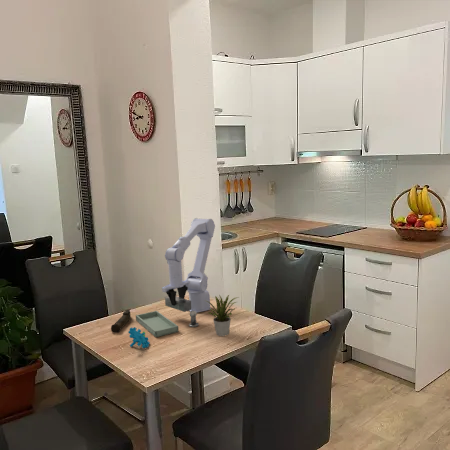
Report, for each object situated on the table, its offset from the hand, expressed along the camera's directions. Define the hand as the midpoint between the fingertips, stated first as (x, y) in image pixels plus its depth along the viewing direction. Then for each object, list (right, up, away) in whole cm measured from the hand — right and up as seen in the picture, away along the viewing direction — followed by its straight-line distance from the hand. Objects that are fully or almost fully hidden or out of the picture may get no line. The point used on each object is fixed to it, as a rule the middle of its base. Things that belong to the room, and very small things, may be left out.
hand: (177, 303), depth 204 cm
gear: (-12, -12, -26) cm, 31 cm away
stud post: (+8, -8, -7) cm, 13 cm away
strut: (0, -2, 0) cm, 2 cm away
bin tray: (-9, -9, -5) cm, 13 cm away
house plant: (+22, -9, -18) cm, 29 cm away
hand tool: (-24, -9, -2) cm, 26 cm away
